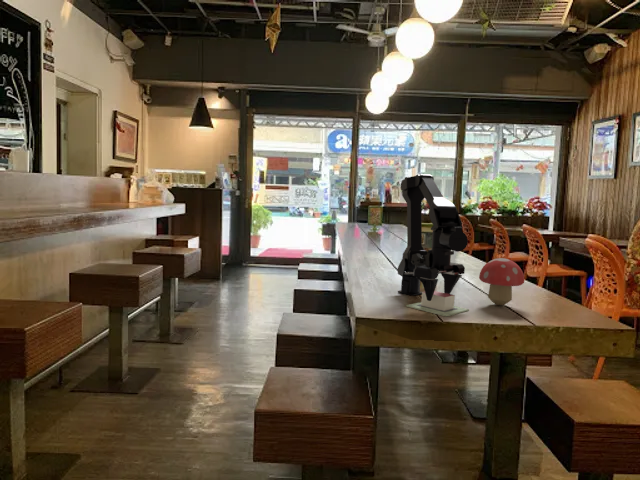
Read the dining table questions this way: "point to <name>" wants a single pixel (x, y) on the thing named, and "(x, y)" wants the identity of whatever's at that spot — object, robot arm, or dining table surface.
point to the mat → (436, 311)
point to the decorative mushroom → (501, 279)
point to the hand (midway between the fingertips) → (437, 298)
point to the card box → (439, 301)
